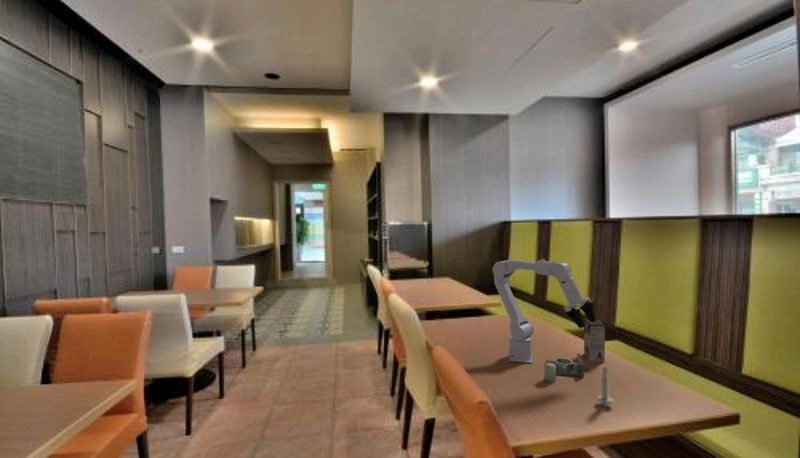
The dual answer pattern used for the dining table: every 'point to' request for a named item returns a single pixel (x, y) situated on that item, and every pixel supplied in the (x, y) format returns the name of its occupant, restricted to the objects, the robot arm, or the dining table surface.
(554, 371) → the grey-green rounded cylinder
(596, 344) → the coffee box
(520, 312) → the robot arm
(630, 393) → the dining table surface
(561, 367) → the cup bracket
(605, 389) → the screw
